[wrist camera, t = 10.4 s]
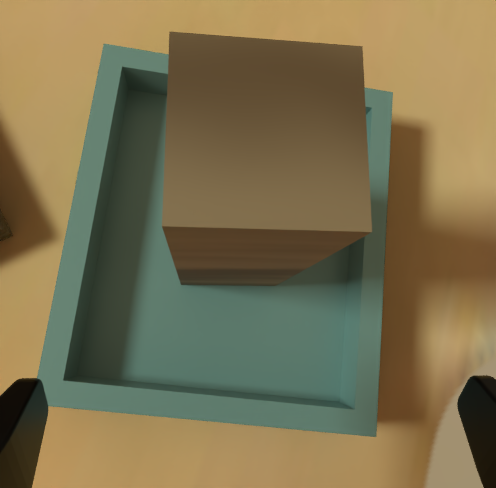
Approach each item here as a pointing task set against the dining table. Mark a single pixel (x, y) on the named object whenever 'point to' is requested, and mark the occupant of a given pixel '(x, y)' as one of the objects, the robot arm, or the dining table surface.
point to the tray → (203, 291)
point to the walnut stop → (262, 157)
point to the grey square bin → (4, 228)
